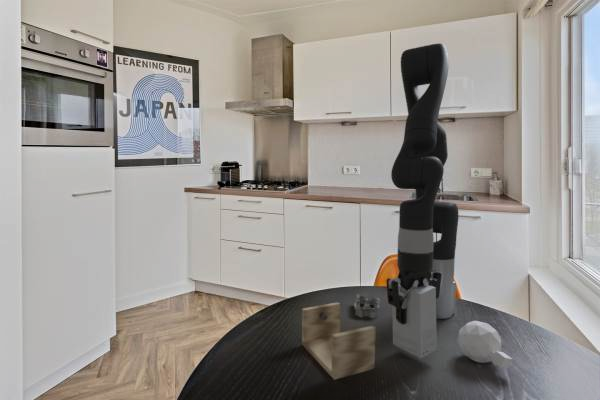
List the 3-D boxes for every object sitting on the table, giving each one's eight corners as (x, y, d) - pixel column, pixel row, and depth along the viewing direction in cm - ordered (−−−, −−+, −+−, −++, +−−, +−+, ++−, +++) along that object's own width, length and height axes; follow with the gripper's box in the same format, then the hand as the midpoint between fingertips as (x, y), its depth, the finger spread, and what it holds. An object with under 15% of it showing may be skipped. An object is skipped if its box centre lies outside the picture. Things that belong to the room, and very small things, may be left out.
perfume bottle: (443, 345, 86) (483, 379, 75) (458, 310, 85) (501, 339, 74) (469, 349, 90) (512, 383, 79) (484, 315, 89) (529, 344, 78)
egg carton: (357, 304, 117) (357, 292, 116) (380, 306, 115) (380, 294, 114) (352, 317, 107) (352, 304, 106) (378, 320, 105) (378, 306, 105)
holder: (337, 336, 95) (337, 302, 94) (374, 368, 80) (375, 328, 79) (302, 344, 90) (302, 308, 90) (334, 379, 76) (334, 337, 75)
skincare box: (437, 351, 82) (439, 287, 81) (419, 360, 79) (421, 293, 77) (407, 336, 89) (408, 277, 88) (389, 343, 86) (391, 282, 84)
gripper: (427, 240, 88) (425, 308, 90) (378, 247, 82) (377, 319, 84) (452, 247, 81) (450, 320, 83) (400, 255, 75) (399, 333, 77)
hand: (413, 319), depth 83 cm, fingers closed on skincare box, 6 cm apart
